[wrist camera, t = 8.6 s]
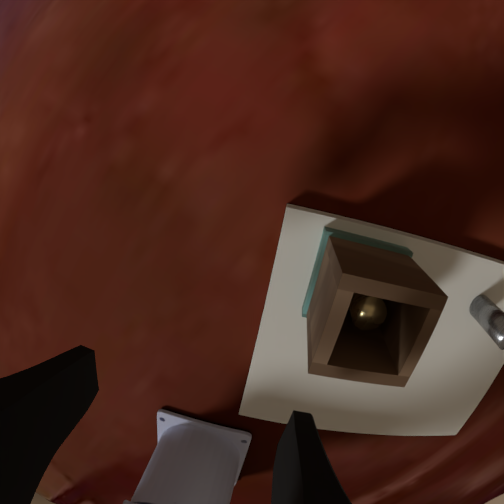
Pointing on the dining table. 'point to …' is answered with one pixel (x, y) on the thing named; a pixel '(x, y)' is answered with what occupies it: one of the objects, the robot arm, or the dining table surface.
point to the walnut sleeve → (376, 285)
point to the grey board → (366, 394)
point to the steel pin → (489, 318)
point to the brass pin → (367, 311)
